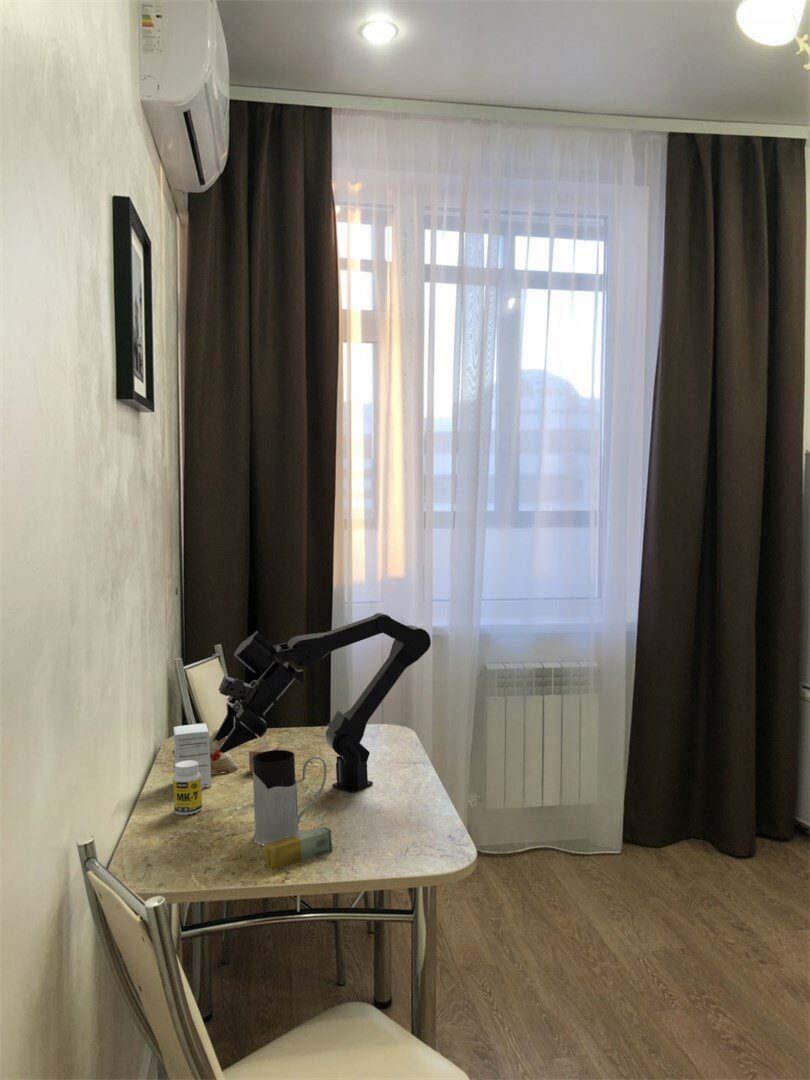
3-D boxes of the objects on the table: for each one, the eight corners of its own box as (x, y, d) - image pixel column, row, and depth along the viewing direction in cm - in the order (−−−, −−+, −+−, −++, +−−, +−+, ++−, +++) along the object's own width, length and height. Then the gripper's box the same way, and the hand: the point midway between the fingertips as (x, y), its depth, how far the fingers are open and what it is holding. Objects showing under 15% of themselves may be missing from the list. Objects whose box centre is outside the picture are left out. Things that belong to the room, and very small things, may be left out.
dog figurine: (211, 766, 194) (209, 724, 193) (240, 768, 191) (238, 726, 191) (198, 773, 189) (196, 731, 188) (227, 776, 186) (225, 733, 186)
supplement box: (175, 781, 184) (173, 726, 183) (209, 777, 186) (206, 722, 185) (176, 792, 177) (174, 734, 176) (211, 787, 179) (209, 730, 178)
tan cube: (279, 767, 191) (278, 746, 191) (268, 774, 187) (267, 752, 186) (261, 765, 193) (260, 744, 193) (249, 772, 188) (248, 750, 188)
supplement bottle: (174, 817, 162) (171, 769, 161) (174, 807, 167) (172, 761, 167) (202, 813, 163) (200, 765, 163) (202, 804, 168) (200, 758, 168)
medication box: (325, 847, 145) (324, 825, 145) (333, 852, 143) (332, 829, 143) (264, 867, 138) (262, 843, 138) (271, 872, 136) (270, 848, 136)
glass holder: (249, 831, 153) (245, 752, 153) (322, 819, 158) (319, 742, 158) (257, 849, 145) (254, 766, 144) (334, 835, 150) (331, 755, 149)
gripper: (235, 654, 177) (185, 710, 173) (248, 670, 159) (192, 733, 156) (273, 687, 180) (224, 742, 176) (289, 705, 162) (235, 768, 159)
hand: (218, 745), depth 167 cm, fingers open, 9 cm apart
